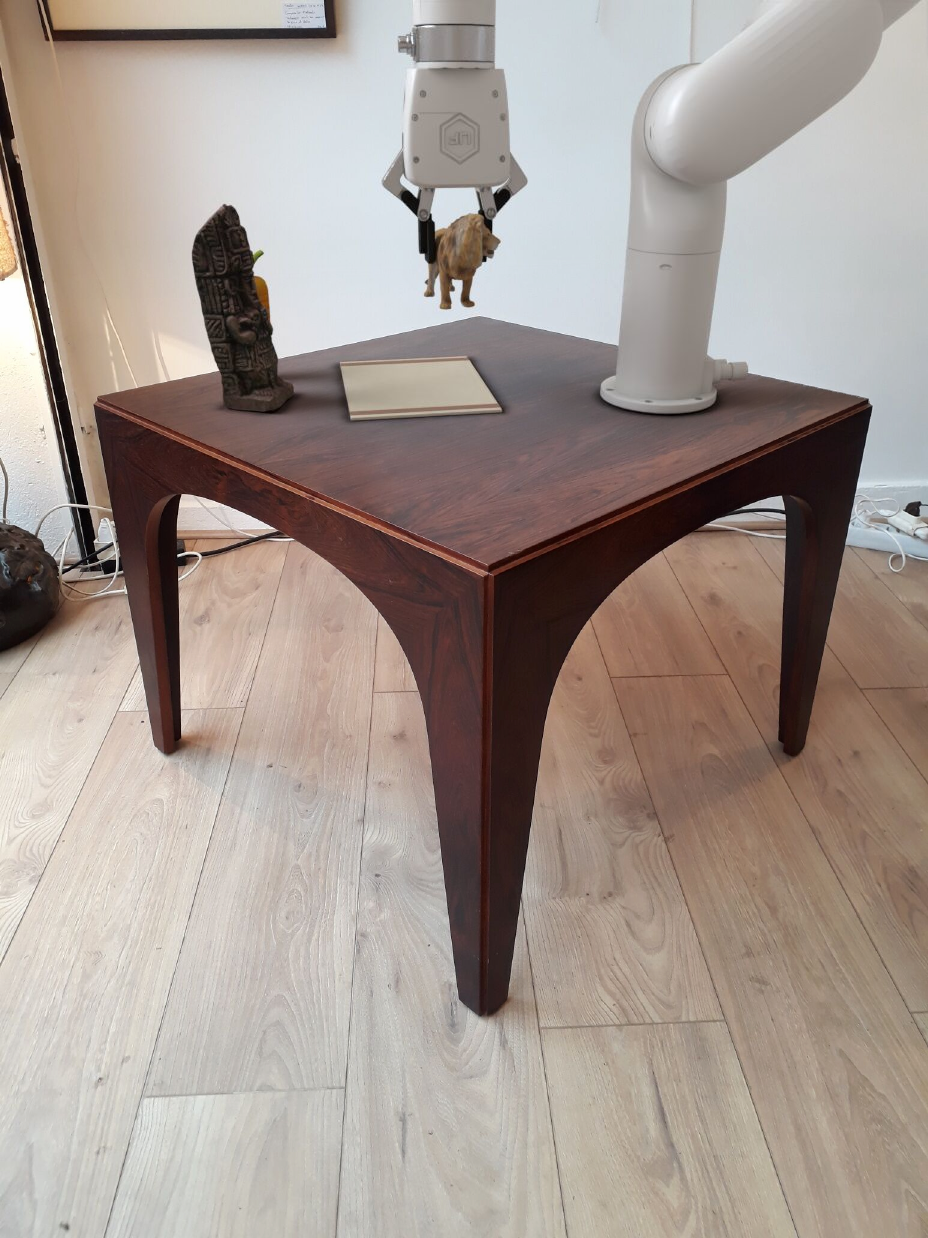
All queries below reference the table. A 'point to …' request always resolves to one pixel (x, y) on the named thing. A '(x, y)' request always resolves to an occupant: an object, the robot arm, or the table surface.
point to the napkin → (415, 388)
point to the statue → (236, 315)
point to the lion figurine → (459, 257)
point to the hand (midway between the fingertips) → (455, 258)
